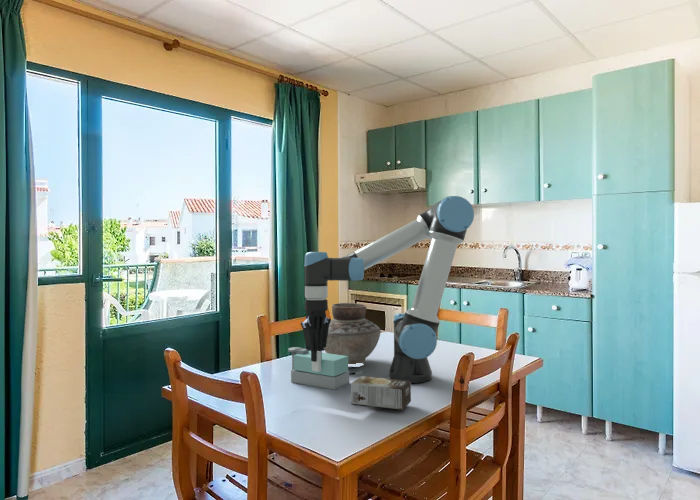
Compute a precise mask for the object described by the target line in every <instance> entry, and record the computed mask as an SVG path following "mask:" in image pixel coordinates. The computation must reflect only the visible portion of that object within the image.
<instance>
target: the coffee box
mask: <svg viewBox="0 0 700 500" xmlns="http://www.w3.org/2000/svg"><path fill="white" fill-rule="evenodd" d="M411 385H412V383H411V381H408V380H397V379H390V378H385V377H383V378H382V377H374V376H373V377H372V376H364V375H362V376H359V377H358V378H356V379H355V380H353V381H352V382H351V383H350V404H351V405H353V404H354V405H359V406H369V407H377V408H385V409H395V410H403V411H404V410H405V409H406V407H407V406H408V405H409V404H410V403H411V402H412V395H411V394H412V389H411V387H412V386H411Z"/></svg>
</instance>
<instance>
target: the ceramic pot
mask: <svg viewBox="0 0 700 500" xmlns="http://www.w3.org/2000/svg"><path fill="white" fill-rule="evenodd" d="M331 311H332V312H331V313H332V317H333V318H332V319H331V322H330V324H329V330H328V337H327V344H326V347H325V348H323V349H324V353H329V354H336V355H344V356H348V364H356V363H363V364H364V366H365V365H366V359H367V357H369V356H370V355H371V354H372V353H373V351H374V350H375V349H376V347H377V346H378V343H379V341H380V337H381V333H382V332H381V331H382V330H381V328H380V327H379V326H378V325H377V324H376V323H374V322H372V321H370V320H369V319H367V318H365V317H366V313H367V305H366V304H363V303H355V302H354V303H353V302H352V303H351V302H343V303H342V302H341V303H340V302H338V303H334V304H331Z"/></svg>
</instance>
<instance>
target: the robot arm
mask: <svg viewBox="0 0 700 500" xmlns="http://www.w3.org/2000/svg"><path fill="white" fill-rule="evenodd" d="M474 218H475V211H474V207H473V206H472V204H471V202H470V201H468V200H467V199H466V198H465V197H462V196H459V195H450V196H446V197H445V198H443V199H442V200H439V201H437V202H436V203H435V204H434V205H432V206H431V207H430V208H428V209H427V210H426V211H425V210H424V212H422V213H420V214H418V215H417V217H416V219H414V220H412V221H410V222H409V223H407V224H405V225H403V226H402V227H399V228H398V229H396V230H393V231H392V232H390V233H388V234H386V235H384V236H382V237H380V238H378V239H376V240H374V241H372V242H370V243H368V244H366V245H364V246H362V247H361V248H358V249H357V250H355V251H353V252H351V253H349V254H347V255H345V256H342V257H329V256H328V253H327V252H326V251H309V252H306V253H305V255H304V298H305V300H304V311H305V312H306V316H305V320H304V321H301V322H300V326H301V329H302V331H303V338H304V343H305V349H307V350H309V351H311V361H312V371H316V372H319V371H321V359H322V353H323V352H325V350H324V349H323V348H325V347H326V344H327V337H328V330H329V324H330V322H331V320H332V319H331V317H327V313H326V312H327V311H328V307H329V306H328V303H329V302H328V298H329V295H328V293H329V291H328V290H329V289H328V281H329V282H330V281H339V282H342V281H347V282H348V281H351V282H356V281H363V280H364V277H365V275H364V274H365V270H367V269H370V268H371V267H373V266H375V265H377V264H379V263H382V262H383V261H385V260H387V259H388V258H391V257H392V256H395V255H397V254H398V253H401V252H403V251H405V250H407V249H409V248H410V247H413V246H414V245H416V244H418V243H420V242H422V241H424V240H426V239H428V240H431V241H430V243H429V247H428V250H427V253H426V257H425V260H424V264H423V268H422V271H421V274H420V278H419V281H418V284H417V287H416V288H417V289H416V290H415V294H414V299H413V301H412V304H411V307H410V308H409V309H407V310H405V312H404V313H403V312H402V313H401V312H400V313H398V312H397V313H395V314H394V317H393V321H392V322H393V357H392V361H391V365H390V367H389V371H388V373H389V374H388V377H389V379H397V380H408V381H411V384H419V383H426V382H429V381H431V380H432V379H433V371H432V368H431V365H430V362H429V359H428V357H430V356H431V355H432V354H433V353H434V352H435V351H436V348H437V344H438V337H437V333H438V329H439V326H440V321H441V320H440V319H439V317H438V313H439V309H440V305H441V302H442V298H443V295H444V292H445V288H446V285H447V282H448V279H449V278H448V277H449V275H450V271H451V269H452V265H453V262H454V258H455V255H456V251H457V248H458V246H459V245H460V244H462V243H464V242H465V237H466V234H467V232H468V231H467V230H468V229H469V228H470V227H471V225H472V224H473V221H474Z"/></svg>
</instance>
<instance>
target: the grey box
mask: <svg viewBox="0 0 700 500" xmlns="http://www.w3.org/2000/svg"><path fill="white" fill-rule="evenodd" d="M294 355H296V352H291V371H290V383H293V384H299V385H305V386H311V387H317V388H323V389H329V390H338V389H339V388H342V387H343V386H346V385H349V384H350V371H349V370H348V371H347V372H344V373H342V374H339V375H337V376H334V377H333V376H327V375H322V374H316V373H310V372H304V371H298V370H294Z"/></svg>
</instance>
